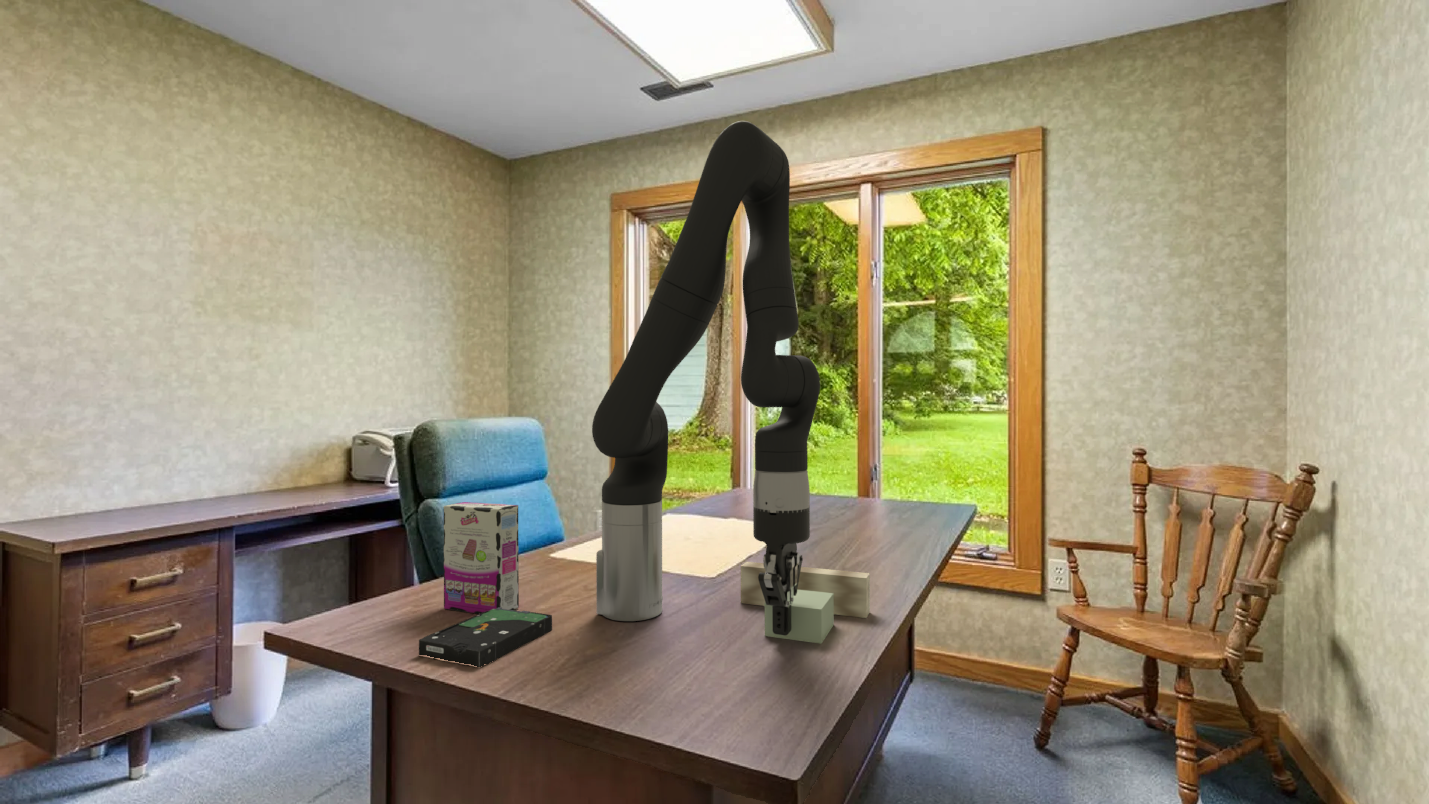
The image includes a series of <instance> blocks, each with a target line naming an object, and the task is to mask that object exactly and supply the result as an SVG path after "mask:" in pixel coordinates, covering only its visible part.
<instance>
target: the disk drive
mask: <svg viewBox="0 0 1429 804" xmlns="http://www.w3.org/2000/svg"><path fill="white" fill-rule="evenodd" d="M552 631H553V615H552V614H547V613H542V612H541V613H540V612H536V611H535V612H534V611H529V610H528V611H527V610H521V611H520V610H507V609H502V607H501V608H500V607H498V608H496V609H492V610H490V611H485V612H483V613H481V614H477V615H474V616H472V617H469V618H467V619H464V620H461V621H460V622H457V623H455V624H452V625H450V626H447V627H445V628H443V629H441V630H439V631H436V632H433V633H431V634H428V635H427V636H424V637H422V638H420V639H419V640H418V656H419V655H427V656H430V657H434V658H440V659H444V660H448V661H455V662H459V663H464V664H471V665H474V666H477V667H481V666H483V665H484V664H487V665H490V664H491V663H493V662H495V661H497V660H498V659H500V658H502V657H504V656H505V655H506V656H507V655H508V654H509V653H512V652H514V651H515V650H517V649H519V648H522V647H523V646H525V645H527V644H529V643H531V642H532V641H535V640H536V639H538V638H540V637H542V636H544V635H546V634H548V633H550V632H552ZM497 658H498V659H497ZM492 661H493V662H492ZM490 662H491V663H490ZM489 663H490V664H489ZM483 667H484V666H483Z"/></svg>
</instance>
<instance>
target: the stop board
mask: <svg viewBox="0 0 1429 804" xmlns="http://www.w3.org/2000/svg"><path fill="white" fill-rule="evenodd" d="M760 572H763V573H766V572H765V568H764V565H763V562H755V561H745V562H744V563H743V564H741V565H740V604H745V605H746V604H747V605H755V606H763V607H765V599H764V596H763V593H762V590H761V587H760V583H759V580H758V575H759V573H760ZM870 575H871V574H870V573H869V572H858V571H850V570H849V571H848V570H838V569H828V568H817V567H809V566H808V567H807V566H806V567H805V566H801V571H800V577H799V583H798V589H797V590H807V591H816V592H826V593H834V615H839V616H846V617H854V618H863V619H867V618H868V616H869V615H870V612H871V611H870V603H871V601H870V599H871V597H870V596H871V595H870V592H871V590H870V586H871V584H870V581H871V580H870V578H871V577H870Z"/></svg>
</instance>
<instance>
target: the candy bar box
mask: <svg viewBox="0 0 1429 804" xmlns="http://www.w3.org/2000/svg"><path fill="white" fill-rule="evenodd" d="M442 508H443V609H445V610H449V611H457V612H463V613H470V614H477V615H479V614H481V613H483V612H485V611H490V610H492V609H496V608H498V607H500V608H501V607H502V609H507V610H514V611H517V610H518V609H519V607H520V605H519V604H520V603H519V602H520V599H519V598H520V596H519V590H520V588H519V587H520V586H519V579H520V578H519V505H518V504H507V503H506V504H505V503H486V502H470V501H469V502H468V501H464V502H455V503H451V504H447V505H443V507H442Z"/></svg>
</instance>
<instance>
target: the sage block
mask: <svg viewBox="0 0 1429 804" xmlns="http://www.w3.org/2000/svg"><path fill="white" fill-rule="evenodd" d="M793 598H794V601H793V604H790V605H791V631H790V632H789V633H788V635H778V634H774V633H773V615H772V606H771V605H766V602H765V606H764V637H769V638H778V639H785V640H791V641H798V642H799V641H800V642H807V643H813V644H820V645H822V644H823V642H824V641H825V639H826V638H827V636H828V634H829V633H830V631H831V630H832V628H833V626H834V625H835V624H834V623H835V622H834V618H835V617H834V615H835V614H834V593H826V592H816V591H807V590H797V594H796V596H793Z"/></svg>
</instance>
